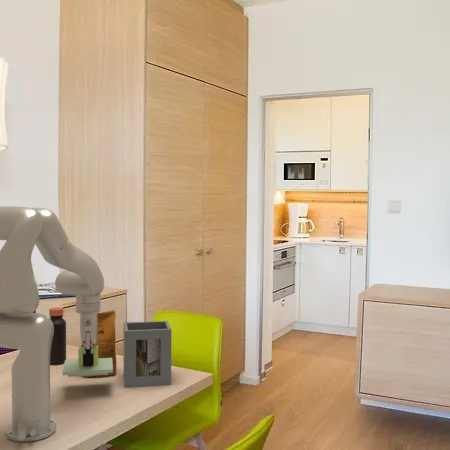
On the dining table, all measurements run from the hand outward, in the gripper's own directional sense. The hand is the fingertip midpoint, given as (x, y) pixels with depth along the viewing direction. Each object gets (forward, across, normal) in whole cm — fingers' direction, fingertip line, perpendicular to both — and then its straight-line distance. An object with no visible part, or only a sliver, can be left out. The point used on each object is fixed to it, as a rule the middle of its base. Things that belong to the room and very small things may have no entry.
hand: (88, 363), depth 178 cm
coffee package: (+9, +17, -3) cm, 19 cm away
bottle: (+9, +32, +12) cm, 35 cm away
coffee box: (+9, +7, -19) cm, 22 cm away
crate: (+9, +7, -19) cm, 22 cm away
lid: (+2, 0, 0) cm, 2 cm away
